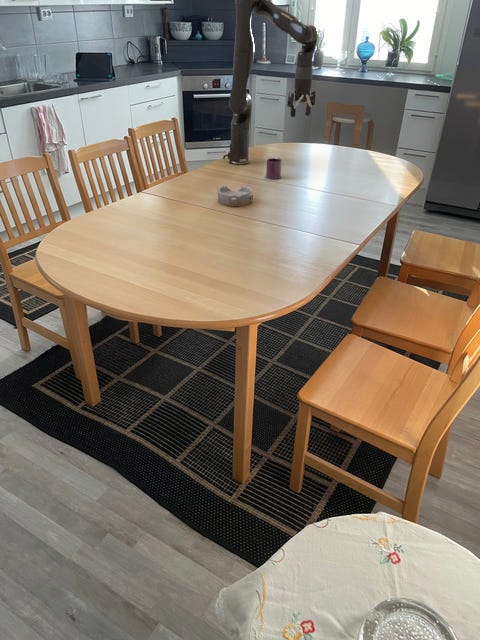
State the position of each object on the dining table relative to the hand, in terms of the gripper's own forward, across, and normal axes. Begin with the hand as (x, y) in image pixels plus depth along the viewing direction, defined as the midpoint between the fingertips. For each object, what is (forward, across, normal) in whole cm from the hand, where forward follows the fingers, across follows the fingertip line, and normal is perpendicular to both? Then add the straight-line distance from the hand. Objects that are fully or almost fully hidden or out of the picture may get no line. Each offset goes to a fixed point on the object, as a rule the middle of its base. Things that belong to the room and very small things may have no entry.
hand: (300, 116), depth 227 cm
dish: (+26, +49, +20) cm, 59 cm away
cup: (+26, +14, +1) cm, 30 cm away
